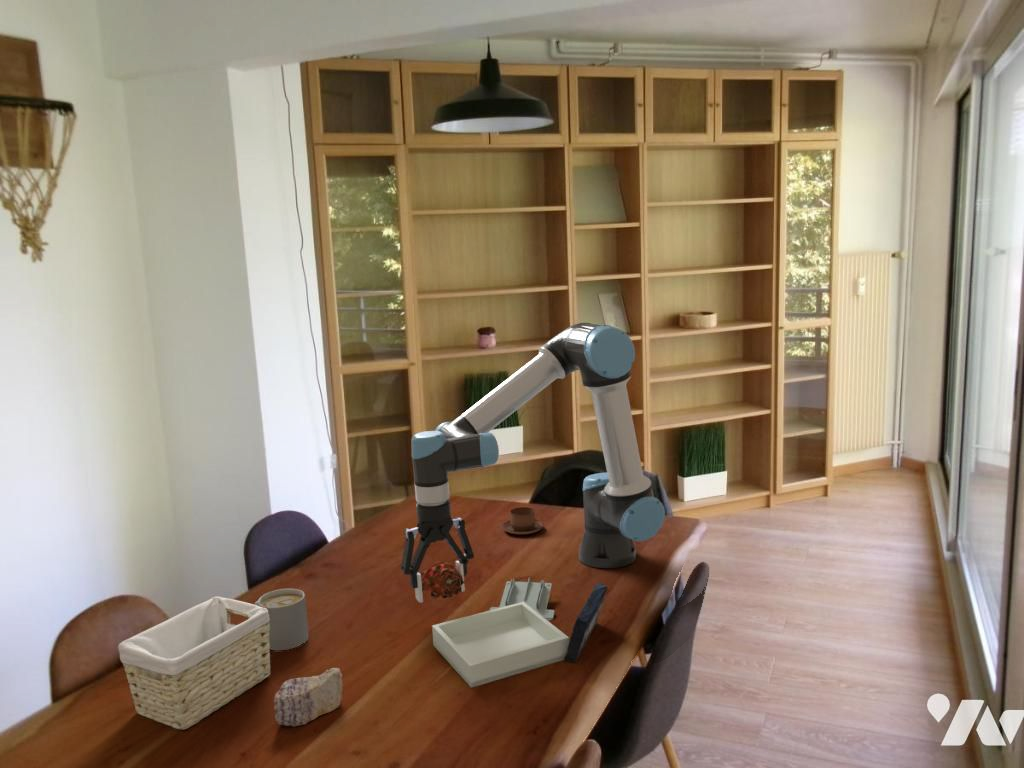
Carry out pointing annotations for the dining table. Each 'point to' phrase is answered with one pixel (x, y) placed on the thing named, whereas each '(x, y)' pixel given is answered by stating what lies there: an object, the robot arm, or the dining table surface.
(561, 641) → the tray
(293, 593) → the coffee mug
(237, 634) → the storage basket
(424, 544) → the robot arm
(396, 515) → the dining table surface
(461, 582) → the dragon fruit
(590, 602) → the vhs cassette tape
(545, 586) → the metal bracket
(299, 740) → the dining table surface
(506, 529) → the cup and saucer
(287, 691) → the mineral specimen
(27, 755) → the dining table surface
